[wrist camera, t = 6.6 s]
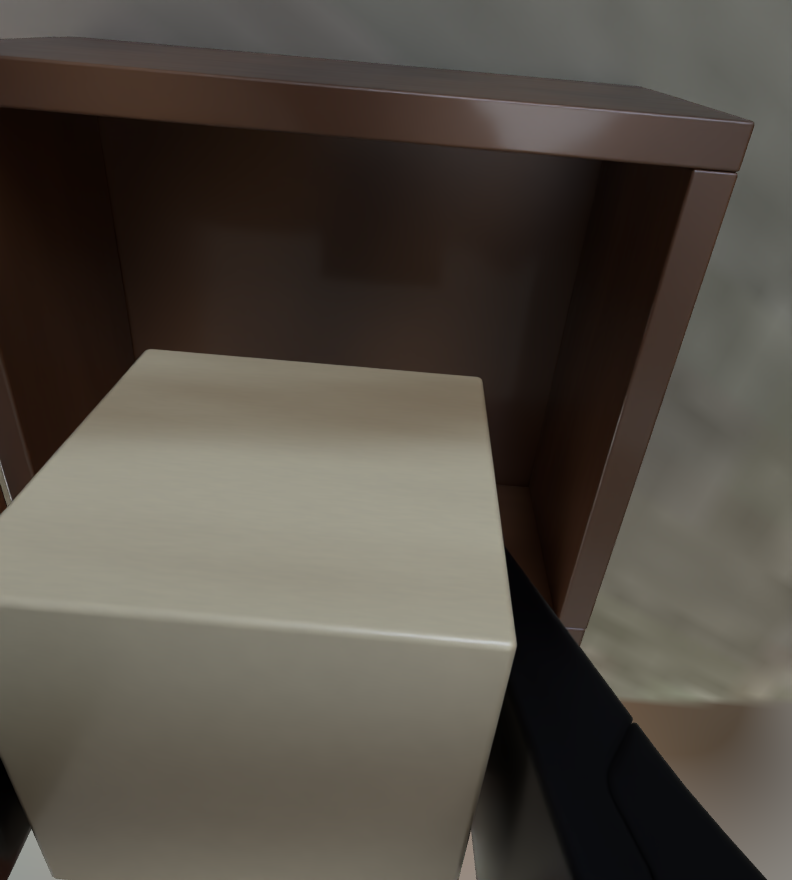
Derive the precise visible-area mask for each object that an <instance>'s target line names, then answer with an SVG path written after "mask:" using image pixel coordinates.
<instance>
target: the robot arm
mask: <svg viewBox="0 0 792 880" xmlns="http://www.w3.org/2000/svg"><path fill="white" fill-rule="evenodd" d="M504 549H505V557H506V564H507V572H508V580H509V587H510V595H511V602H512V610H513V618H514V625H515V633H516V641H517V648H516V652H515V656H514V660H513V664H512V668H511V672H510V676H509V680H508V684H507V688H506V692H505V696H504V700H503V704H502V708H501V712H500V716H499V720H498V724H497V728H496V732H495V736H494V740H493V744H492V748H491V752H490V756H489V760H488V764H487V768H486V772H485V776H484V780H483V784H482V788H481V792H480V796H479V800H478V804H477V808H476V812H475V816H474V820H473V824H472V828H471V832H472V841H473V851H474V860H475V870H476V879H477V880H767V879H766V878H765V877H764V876H763V875H762V873H761V872H760V871H759V870H758V869H757V868H756V867H755V866H754V865H753V863H752V862H751V861H750V860H749V859H748V858H747V857H746V856H745V855H744V853H743V852H742V851H741V850H740V849H739V848H738V847H737V846H736V844H734V842H733V841H732V840H731V839H730V838H729V837H728V835H727V834H726V833H725V832H724V831H723V830H722V829H721V828H720V826H719V825H718V824H717V823H716V822H715V820H714V819H713V818H712V817H711V816H710V815H709V814H708V812H707V811H706V810H705V809H704V808H703V807H702V805H701V804H700V803H699V802H698V801H697V800H696V798H695V797H694V796H693V795H692V794H691V793H690V791H689V790H688V789H687V788H686V787H685V785H684V784H683V783H682V781H680V779H679V778H678V777H677V775H676V774H675V773H674V771H673V770H672V769H671V767H670V766H669V765H668V764H667V762H666V761H665V760H664V758H663V757H662V756H661V755H660V753H659V752H658V751H657V750H656V748H655V747H654V746H653V744H652V743H651V742H650V740H649V739H648V738H647V736H646V735H645V734H644V732H643V731H642V729H641V728H640V727H639V725H638V724H637V723H632V720H633V718H632V717H631V715H630V714H629V712H628V711H627V710H626V708H625V707H624V706H623V704H622V703H621V702H620V700H619V699H618V698H617V696H616V695H615V693H614V692H613V691H612V689H611V688H610V687H609V685H608V684H607V683H606V681H605V680H604V679H603V677H602V676H601V675H600V673H599V672H598V671H597V669H596V668H595V667H594V665H593V664H592V663H591V661H590V660H589V658H588V657H587V656H586V654H585V653H584V652H583V650H582V649H581V648H580V646H579V645H578V644H577V642H576V641H575V640H574V638H573V637H572V636H571V634H570V633H569V632H568V630H567V629H566V628H565V626H564V625H563V623H562V622H561V621H560V619H559V618H558V617H557V615H556V614H555V613H554V611H553V610H552V609H551V607H550V606H549V605H548V603H547V602H546V601H545V599H544V598H543V597H542V595H541V594H540V593H539V591H538V590H537V589H536V587H535V586H534V584H533V583H532V582H531V580H530V579H529V578H528V576H527V575H526V574H525V572H524V571H523V570H522V568H521V567H520V566H519V564H518V563H517V562H516V560H515V559H514V558H513V556H512V555H511V554H510V552H509V551H508V549H507V548H506V547H505V545H504ZM631 723H632V724H631ZM30 831H31V826H30V824H29V822H28V820H27V817H26V815H25V813H24V810H23V808H22V806H21V803H20V801H19V799H18V797H17V794H16V792H15V790H14V787H13V785H12V783H11V781H10V778H9V776H8V774H7V771H6V769H5V767H4V764H3V762H2V760H1V758H0V880H7V879H8V877H9V875H10V873H11V871H12V869H13V867H14V865H15V863H16V860H17V858H18V856H19V854H20V852H21V850H22V848H23V846H24V843H25V841H26V839H27V837H28V835H29V833H30Z"/></svg>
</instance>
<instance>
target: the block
mask: <svg viewBox="0 0 792 880" xmlns="http://www.w3.org/2000/svg"><path fill="white" fill-rule="evenodd" d="M516 648H517V641H516V633H515V625H514V618H513V610H512V602H511V595H510V587H509V580H508V572H507V564H506V557H505V549H504V541H503V534H502V526H501V518H500V511H499V503H498V495H497V488H496V480H495V472H494V465H493V457H492V450H491V442H490V434H489V427H488V419H487V411H486V404H485V396H484V388H483V382H482V379H481V378H479V377H472V376H460V375H449V374H437V373H425V372H414V371H402V370H390V369H379V368H367V367H355V366H344V365H332V364H320V363H309V362H297V361H285V360H273V359H262V358H250V357H238V356H227V355H215V354H203V353H192V352H180V351H168V350H157V349H148V350H145V351H144V352H143V354H142V355H141V356H140V357H139V358H138V359H137V360H136V362H135V363H134V364H133V365H132V366H131V367H130V368H129V369H128V371H127V372H126V373H125V374H124V375H123V376H122V377H121V379H120V380H119V381H118V382H117V383H116V384H115V385H114V386H113V388H112V389H111V390H110V391H109V392H108V393H107V394H106V396H105V397H104V398H103V399H102V400H101V401H100V402H99V403H98V405H97V406H96V407H95V408H94V409H93V410H92V411H91V412H90V414H89V415H88V416H87V417H86V418H85V419H84V420H83V422H82V423H81V424H80V425H79V426H78V427H77V428H76V429H75V431H74V432H73V433H72V434H71V435H70V436H69V437H68V439H67V440H66V441H65V442H64V443H63V444H62V445H61V446H60V448H59V449H58V450H57V451H56V452H55V453H54V454H53V456H52V457H51V458H50V459H49V460H48V461H47V462H46V463H45V465H44V466H43V467H42V468H41V469H40V470H39V471H38V472H37V474H36V475H35V476H34V477H33V478H32V479H31V480H30V482H29V483H28V484H27V485H26V486H25V487H24V488H23V489H22V491H21V492H20V493H19V494H18V495H17V496H16V497H15V499H14V500H13V501H12V502H11V503H10V504H9V505H8V506H7V508H6V509H5V510H4V511H3V512H2V513H1V514H0V758H1V760H2V762H3V764H4V767H5V769H6V771H7V774H8V776H9V778H10V781H11V783H12V785H13V787H14V790H15V792H16V794H17V797H18V799H19V801H20V803H21V806H22V808H23V810H24V813H25V815H26V817H27V820H28V822H29V824H30V826H31V829H32V831H33V833H34V836H35V838H36V840H37V842H38V845H39V847H40V849H41V851H42V854H43V856H44V858H45V861H46V863H47V865H48V867H49V870H50V872H51V874H52V876H53V877H54V878H56V879H64V880H459V876H460V872H461V867H462V864H463V860H464V856H465V852H466V848H467V844H468V840H469V836H470V832H471V828H472V824H473V820H474V816H475V812H476V808H477V804H478V800H479V796H480V792H481V788H482V784H483V780H484V776H485V772H486V768H487V764H488V760H489V756H490V752H491V748H492V744H493V740H494V736H495V732H496V728H497V724H498V720H499V716H500V712H501V708H502V704H503V700H504V696H505V692H506V688H507V684H508V680H509V676H510V672H511V668H512V664H513V660H514V656H515V652H516Z"/></svg>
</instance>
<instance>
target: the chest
mask: <svg viewBox="0 0 792 880" xmlns="http://www.w3.org/2000/svg"><path fill="white" fill-rule="evenodd" d="M753 128H754V122H753V121H750V120H747V119H744V118H740V117H737V116H734V115H731V114H728V113H724V112H721V111H718V110H715V109H712V108H708V107H705V106H702V105H699V104H696V103H692V102H689V101H686V100H683V99H680V98H676V97H673V96H670V95H667V94H663V93H660V92H657V91H654V90H651V89H646V88H643V87H639V86H628V85H617V84H605V83H594V82H583V81H571V80H560V79H548V78H537V77H526V76H514V75H503V74H492V73H480V72H469V71H458V70H446V69H435V68H423V67H412V66H401V65H389V64H378V63H367V62H355V61H344V60H332V59H321V58H310V57H298V56H287V55H276V54H264V53H253V52H242V51H230V50H219V49H207V48H196V47H185V46H173V45H162V44H151V43H139V42H128V41H117V40H105V39H94V38H82V37H42V38H16V39H0V466H1V470H2V473H3V476H4V480H5V483H6V486H7V489H8V493H9V496H10V499H11V502H12V501H13V500H14V499H15V497H16V496H17V495H18V494H19V493H20V492H21V491H22V489H23V488H24V487H25V486H26V485H27V484H28V483H29V482H30V480H31V479H32V478H33V477H34V476H35V475H36V474H37V472H38V471H39V470H40V469H41V468H42V467H43V466H44V465H45V463H46V462H47V461H48V460H49V459H50V458H51V457H52V456H53V454H54V453H55V452H56V451H57V450H58V449H59V448H60V446H61V445H62V444H63V443H64V442H65V441H66V440H67V439H68V437H69V436H70V435H71V434H72V433H73V432H74V431H75V429H76V428H77V427H78V426H79V425H80V424H81V423H82V422H83V420H84V419H85V418H86V417H87V416H88V415H89V414H90V412H91V411H92V410H93V409H94V408H95V407H96V406H97V405H98V403H99V402H100V401H101V400H102V399H103V398H104V397H105V396H106V394H107V393H108V392H109V391H110V390H111V389H112V388H113V386H114V385H115V384H116V383H117V382H118V381H119V380H120V379H121V377H122V376H123V375H124V374H125V373H126V372H127V371H128V369H129V368H130V367H131V366H132V365H133V364H134V363H135V362H136V360H137V359H138V358H139V357H140V356H141V355H142V354H143V352H144V351H145V350H148V349H157V350H168V351H180V352H192V353H203V354H215V355H227V356H238V357H250V358H262V359H273V360H285V361H297V362H309V363H320V364H332V365H344V366H355V367H367V368H379V369H390V370H402V371H414V372H425V373H437V374H449V375H460V376H472V377H479V378H481V379H482V382H483V388H484V396H485V404H486V411H487V419H488V427H489V434H490V442H491V450H492V457H493V465H494V472H495V480H496V488H497V495H498V503H499V511H500V518H501V526H502V534H503V541H504V545H505V547H506V548H507V549H508V551H509V552H510V554H511V555H512V556H513V558H514V559H515V560H516V562H517V563H518V564H519V566H520V567H521V568H522V570H523V571H524V572H525V574H526V575H527V576H528V578H529V579H530V580H531V582H532V583H533V584H534V586H535V587H536V589H537V590H538V591H539V593H540V594H541V595H542V597H543V598H544V599H545V601H546V602H547V603H548V605H549V606H550V607H551V609H552V610H553V611H554V613H555V614H556V615H557V617H558V618H559V619H560V621H561V622H562V623H563V625H564V626H565V628H566V629H567V630H568V632H569V633H570V634H571V636H572V637H573V638H574V640H575V641H576V642H577V644H578V645H579V646H580V644H581V641H582V638H583V635H584V632H585V629H586V628H587V625H588V622H589V619H590V616H591V613H592V610H593V607H594V604H595V601H596V598H597V595H598V592H599V589H600V586H601V584H602V581H603V578H604V575H605V572H606V569H607V566H608V563H609V560H610V557H611V554H612V551H613V548H614V545H615V542H616V539H617V536H618V533H619V530H620V527H621V524H622V521H623V518H624V515H625V512H626V509H627V506H628V503H629V500H630V497H631V494H632V491H633V488H634V485H635V482H636V479H637V476H638V473H639V470H640V467H641V464H642V461H643V458H644V455H645V452H646V449H647V446H648V443H649V440H650V437H651V434H652V431H653V428H654V425H655V422H656V419H657V416H658V413H659V410H660V407H661V404H662V401H663V398H664V395H665V392H666V389H667V386H668V383H669V380H670V377H671V374H672V371H673V368H674V365H675V362H676V359H677V356H678V353H679V350H680V347H681V344H682V341H683V338H684V335H685V332H686V329H687V326H688V323H689V320H690V317H691V314H692V311H693V308H694V305H695V302H696V299H697V296H698V293H699V290H700V287H701V284H702V281H703V278H704V275H705V272H706V269H707V266H708V263H709V260H710V257H711V254H712V251H713V248H714V245H715V242H716V239H717V236H718V233H719V230H720V227H721V224H722V221H723V218H724V215H725V212H726V209H727V206H728V203H729V200H730V197H731V194H732V191H733V188H734V185H735V182H736V179H737V173H736V172H737V171H739V169H740V167H741V164H742V161H743V158H744V155H745V152H746V149H747V146H748V143H749V140H750V137H751V134H752V131H753Z"/></svg>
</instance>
